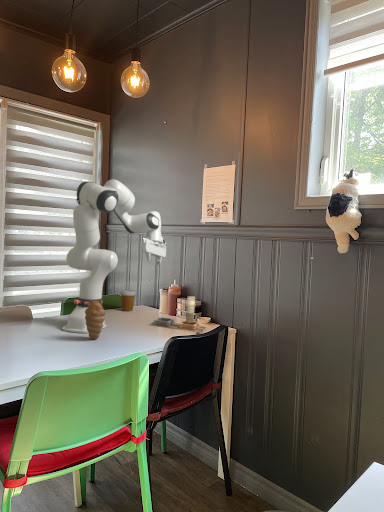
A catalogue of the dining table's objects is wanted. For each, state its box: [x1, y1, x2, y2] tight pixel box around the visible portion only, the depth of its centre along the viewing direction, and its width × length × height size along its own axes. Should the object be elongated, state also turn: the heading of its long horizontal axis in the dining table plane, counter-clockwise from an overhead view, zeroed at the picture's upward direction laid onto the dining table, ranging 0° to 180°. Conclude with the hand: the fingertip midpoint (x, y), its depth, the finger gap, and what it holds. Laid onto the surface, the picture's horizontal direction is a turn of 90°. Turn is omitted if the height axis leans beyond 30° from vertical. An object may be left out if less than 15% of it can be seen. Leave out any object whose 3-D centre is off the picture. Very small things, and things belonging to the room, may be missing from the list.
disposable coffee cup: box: [119, 289, 137, 313], centre depth 234 cm, size 10×10×12 cm
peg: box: [185, 295, 196, 325], centre depth 196 cm, size 4×4×16 cm
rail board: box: [147, 316, 207, 335], centre depth 198 cm, size 12×28×4 cm, turn 73°
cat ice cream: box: [85, 300, 107, 340], centre depth 170 cm, size 9×8×18 cm
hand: (154, 263), depth 216 cm, fingers open, 8 cm apart
